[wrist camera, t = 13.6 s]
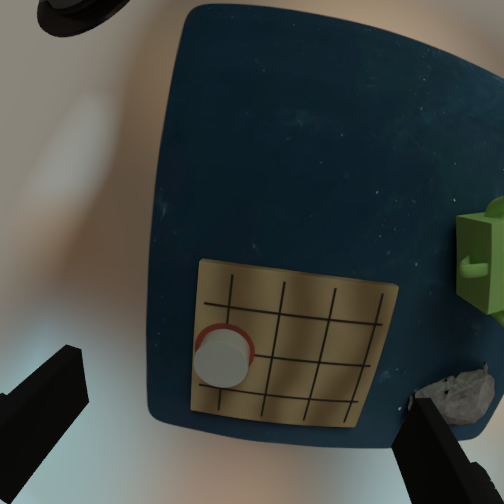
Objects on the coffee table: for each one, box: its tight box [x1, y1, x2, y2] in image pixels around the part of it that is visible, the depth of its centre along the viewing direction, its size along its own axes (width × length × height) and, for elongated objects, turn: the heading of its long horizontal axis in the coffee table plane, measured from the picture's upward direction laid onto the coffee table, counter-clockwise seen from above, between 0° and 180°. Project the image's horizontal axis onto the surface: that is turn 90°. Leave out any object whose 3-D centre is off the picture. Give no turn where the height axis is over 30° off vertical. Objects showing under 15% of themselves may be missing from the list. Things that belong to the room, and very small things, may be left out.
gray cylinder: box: [194, 329, 250, 388], centre depth 37 cm, size 6×6×4 cm
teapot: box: [456, 195, 504, 329], centre depth 30 cm, size 15×13×11 cm
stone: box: [402, 362, 495, 425], centre depth 37 cm, size 15×8×15 cm
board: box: [191, 258, 399, 427], centre depth 39 cm, size 24×22×2 cm
